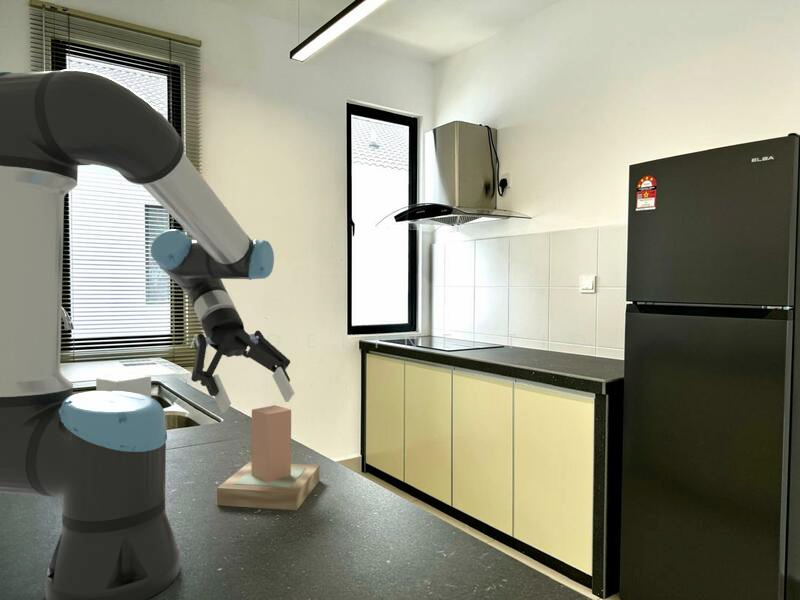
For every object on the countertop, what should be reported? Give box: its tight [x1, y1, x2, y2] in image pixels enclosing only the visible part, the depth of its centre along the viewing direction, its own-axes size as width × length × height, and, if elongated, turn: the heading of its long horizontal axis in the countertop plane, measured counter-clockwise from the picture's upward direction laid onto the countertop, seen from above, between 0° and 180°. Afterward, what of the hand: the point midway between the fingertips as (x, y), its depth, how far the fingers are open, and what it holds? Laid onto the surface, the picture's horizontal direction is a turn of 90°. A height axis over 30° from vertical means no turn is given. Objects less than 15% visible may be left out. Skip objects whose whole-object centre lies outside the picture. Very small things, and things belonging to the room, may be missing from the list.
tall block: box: [251, 404, 292, 482], centre depth 99 cm, size 5×5×12 cm
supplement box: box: [95, 373, 152, 398], centre depth 132 cm, size 9×9×15 cm
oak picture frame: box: [216, 460, 321, 511], centre depth 99 cm, size 14×14×3 cm
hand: (259, 403), depth 102 cm, fingers open, 13 cm apart
